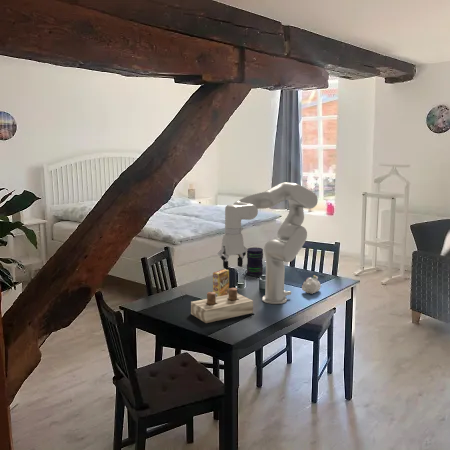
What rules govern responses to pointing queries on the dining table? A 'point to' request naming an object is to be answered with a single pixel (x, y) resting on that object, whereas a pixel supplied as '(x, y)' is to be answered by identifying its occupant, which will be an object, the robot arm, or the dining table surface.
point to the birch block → (221, 308)
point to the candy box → (221, 282)
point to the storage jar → (254, 261)
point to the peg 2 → (232, 294)
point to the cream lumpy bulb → (311, 285)
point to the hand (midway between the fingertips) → (232, 267)
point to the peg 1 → (211, 298)
